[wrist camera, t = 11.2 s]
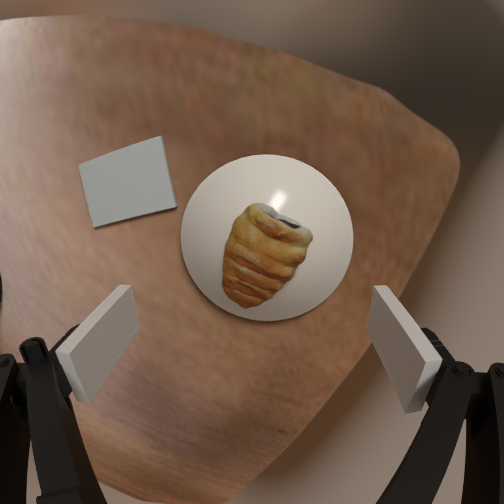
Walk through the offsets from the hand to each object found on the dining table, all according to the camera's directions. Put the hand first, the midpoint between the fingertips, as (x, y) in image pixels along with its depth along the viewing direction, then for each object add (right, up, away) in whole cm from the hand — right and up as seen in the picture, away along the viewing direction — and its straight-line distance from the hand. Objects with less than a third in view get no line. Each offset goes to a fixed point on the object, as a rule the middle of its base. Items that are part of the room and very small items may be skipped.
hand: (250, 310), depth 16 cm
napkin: (-13, +10, +12) cm, 20 cm away
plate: (+1, +4, +13) cm, 14 cm away
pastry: (+1, +3, +12) cm, 13 cm away
